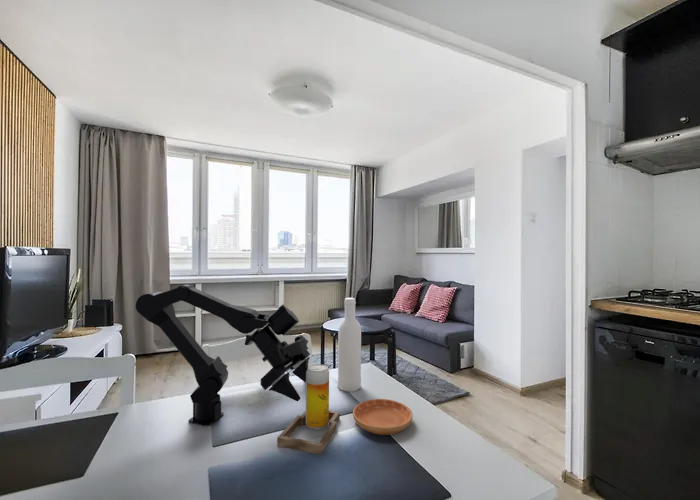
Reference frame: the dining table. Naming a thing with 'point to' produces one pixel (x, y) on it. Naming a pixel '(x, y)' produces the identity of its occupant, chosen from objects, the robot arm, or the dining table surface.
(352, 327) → the bottle
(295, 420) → the brown rectangular frame
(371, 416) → the saucer
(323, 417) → the beer can
